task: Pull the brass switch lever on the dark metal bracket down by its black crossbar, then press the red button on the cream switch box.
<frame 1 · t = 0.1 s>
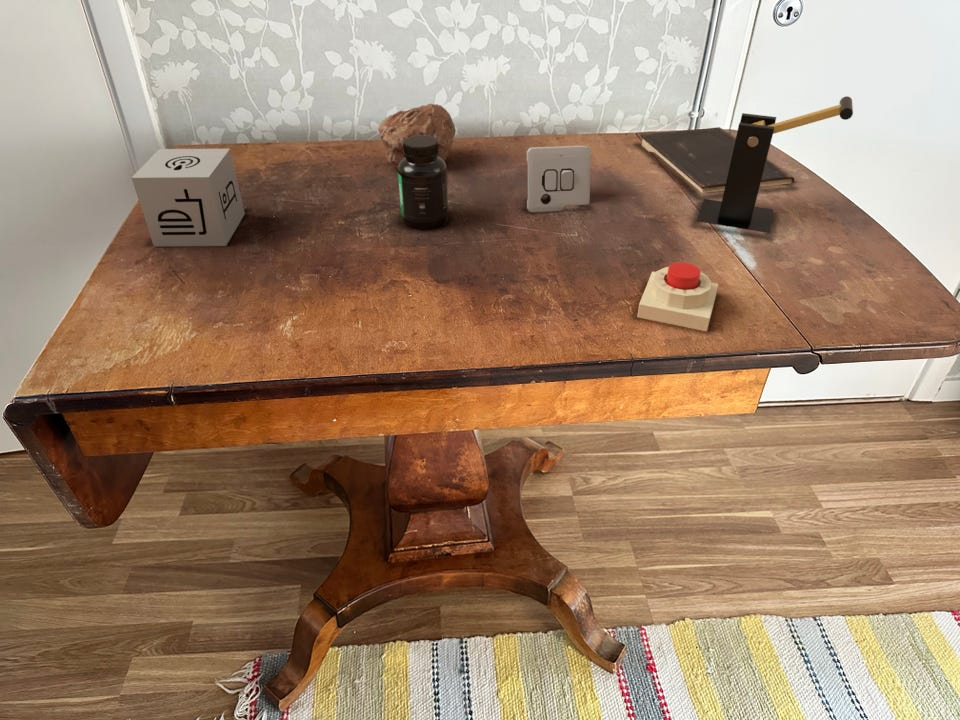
lever: (796, 122, 91), point 15 cm above the table, hinge at 25.0°
hardcover book: (710, 168, 118), on the table
bracket: (733, 222, 102), on the table
switch box: (676, 309, 84), on the table
button: (683, 276, 81), point 4 cm above the table, slide at 0.1 cm
electrical switch: (554, 206, 107), on the table
icon cube: (201, 230, 101), on the table
decorative rock: (419, 165, 120), on the table
supplement bottle: (425, 222, 103), on the table
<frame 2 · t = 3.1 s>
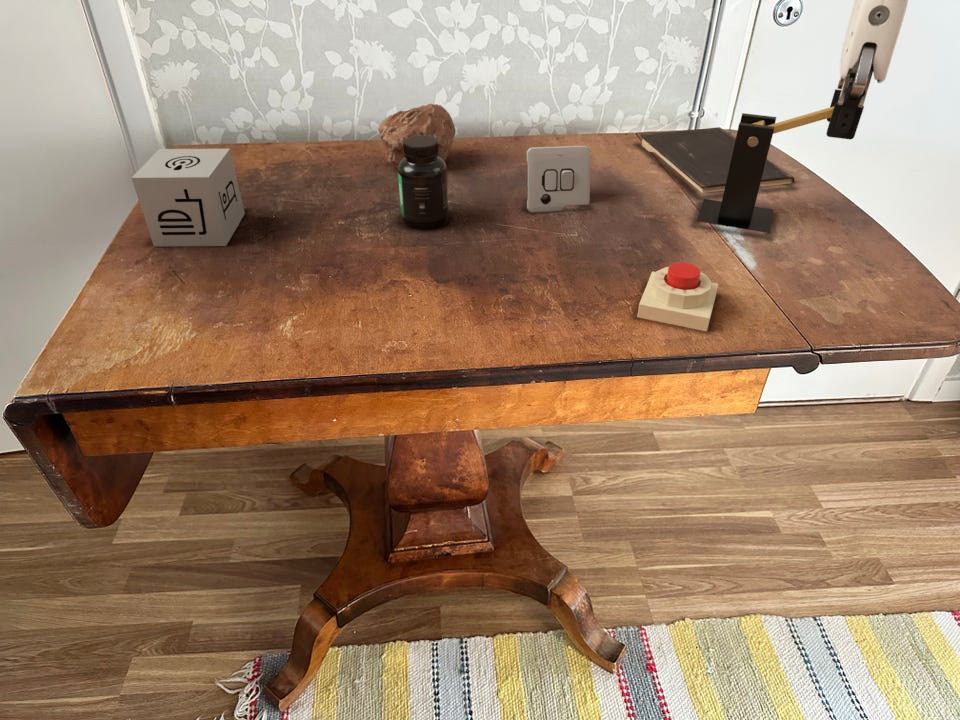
hand: (839, 128, 90), 15 cm above the table, tool pointing down, fingers closed on lever, 5 cm apart
lever: (796, 122, 91), point 15 cm above the table, hinge at 25.0°, touching gripper
everything else where it was.
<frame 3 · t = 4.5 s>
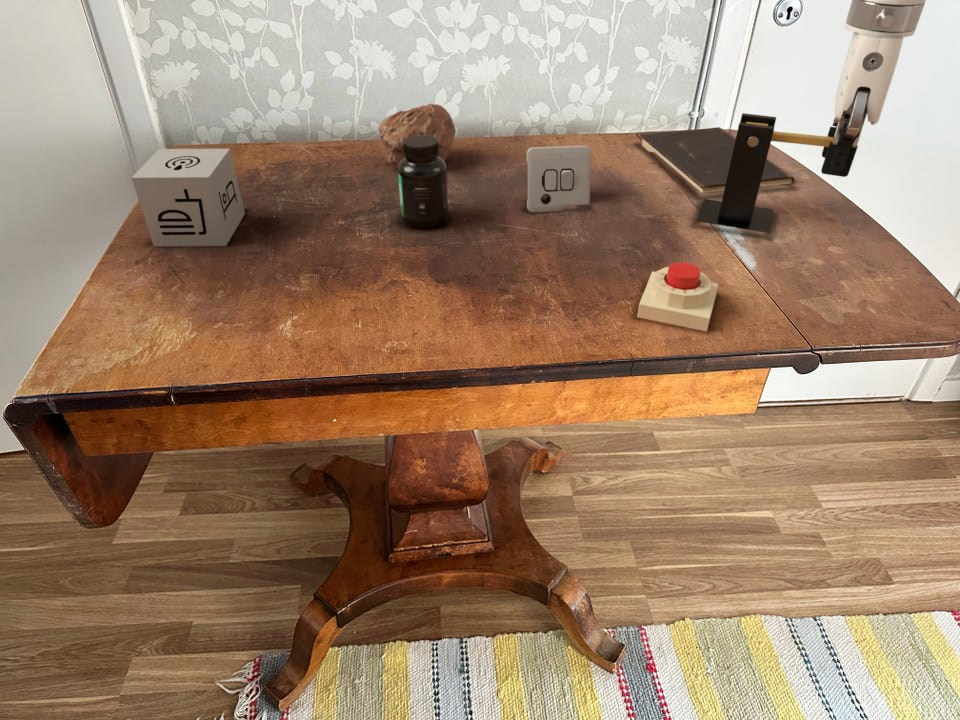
hand: (834, 164, 93), 10 cm above the table, tool pointing down, fingers closed on lever, 5 cm apart
lever: (795, 138, 93), point 13 cm above the table, hinge at 1.1°, touching gripper
everything else where it was.
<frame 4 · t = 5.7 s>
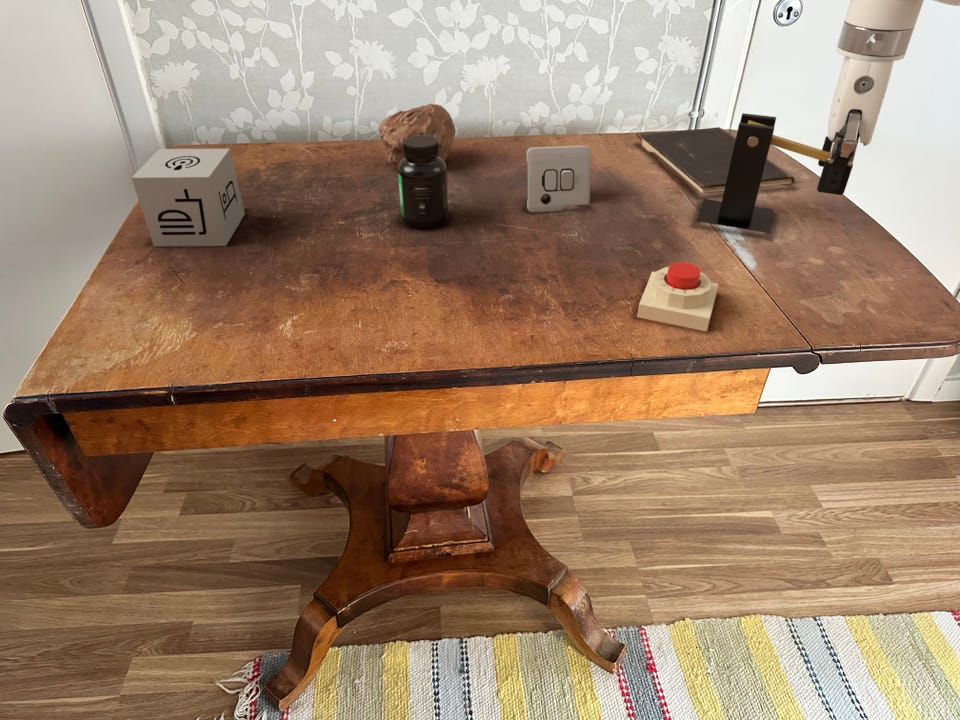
hand: (829, 178, 94), 8 cm above the table, tool pointing down, fingers open, 8 cm apart
lever: (792, 146, 93), point 12 cm above the table, hinge at -10.7°
everything else where it was.
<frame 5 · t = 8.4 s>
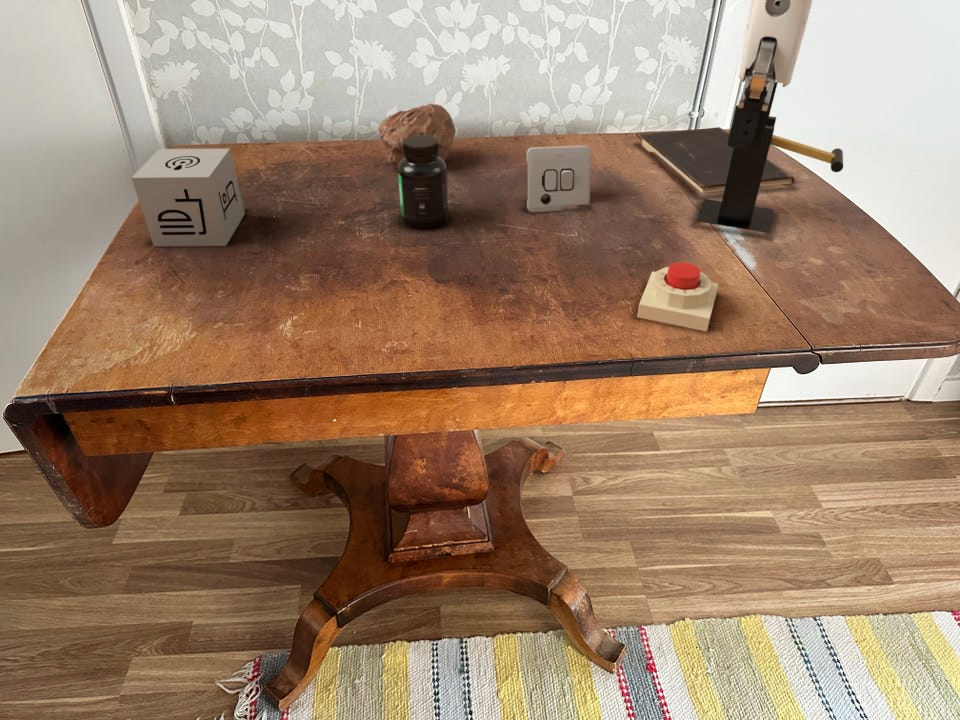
hand: (748, 132, 75), 20 cm above the table, tool pointing down, fingers open, 9 cm apart
nothing on the table moved.
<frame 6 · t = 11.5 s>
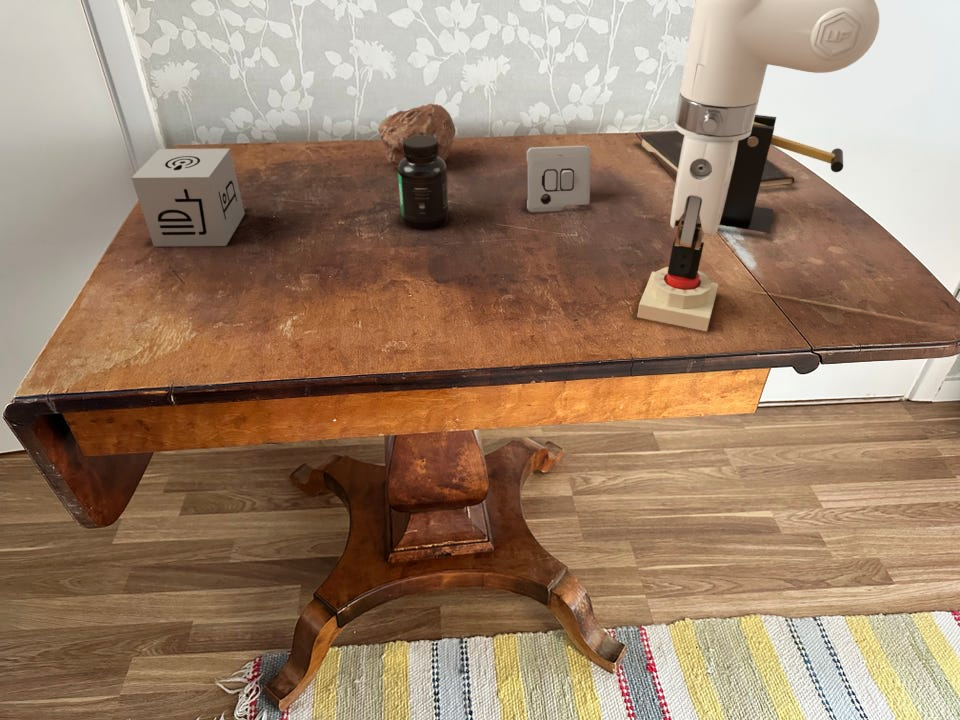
hand: (682, 273, 81), 5 cm above the table, tool pointing down, fingers closed
button: (682, 280, 82), point 4 cm above the table, slide at -0.4 cm, touching gripper
everything else where it was.
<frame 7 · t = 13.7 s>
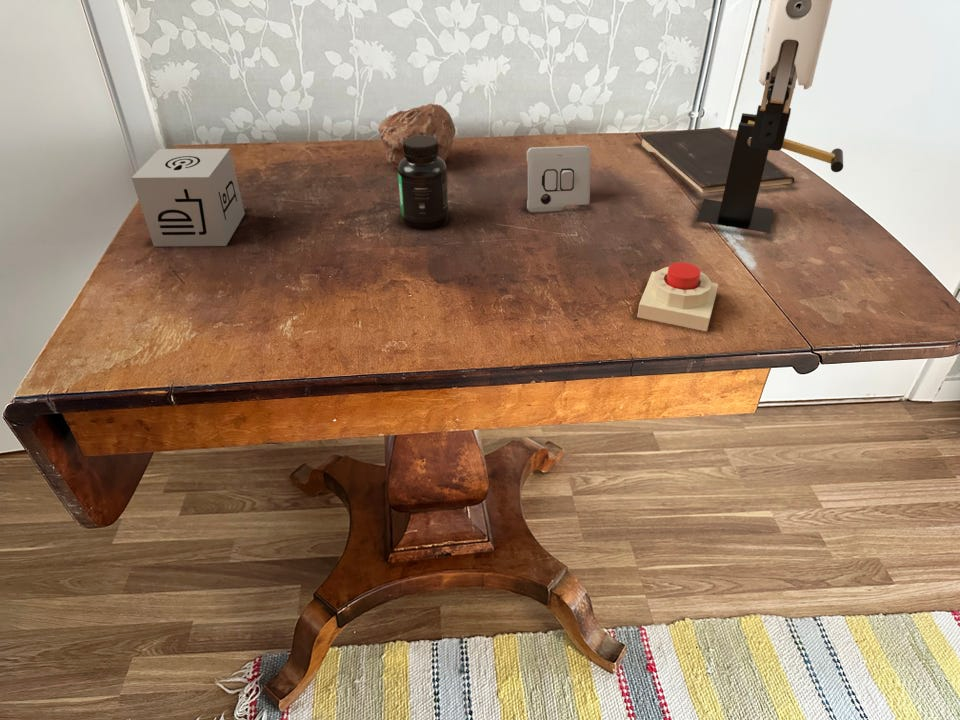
hand: (765, 146, 75), 19 cm above the table, tool pointing down, fingers closed
button: (683, 276, 81), point 4 cm above the table, slide at 0.1 cm
everything else where it was.
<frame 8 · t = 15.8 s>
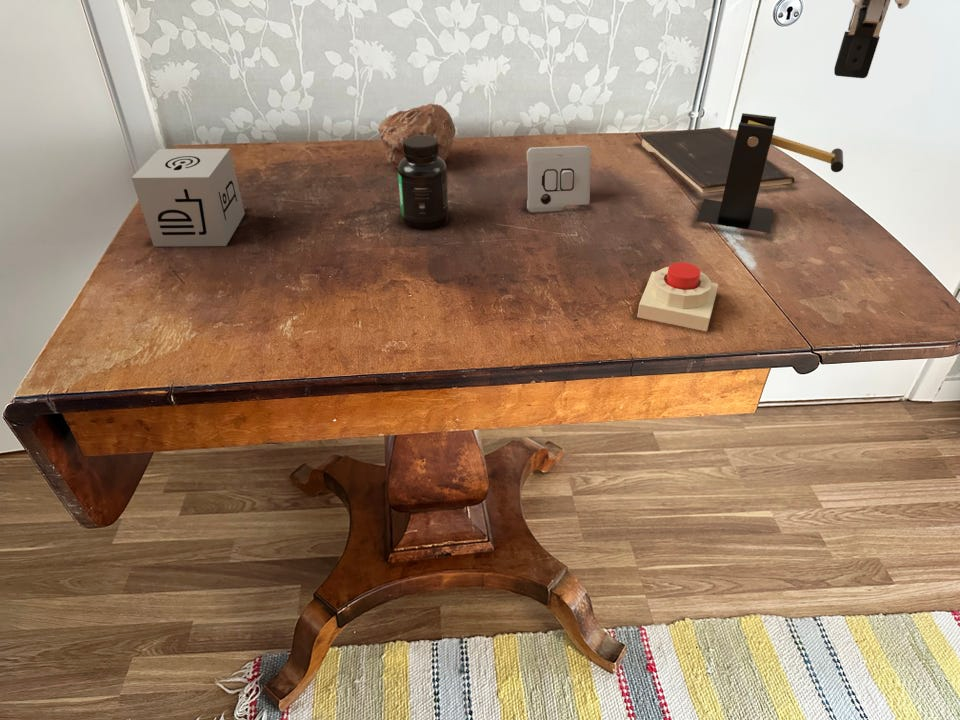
hand: (849, 74, 74), 25 cm above the table, tool pointing down, fingers closed
nothing on the table moved.
at the end: lever at -11° (first picture: +25°); button pushed in 1.1 cm at the most during the clip, back to where it started at the end; button slide at 0.1 cm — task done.
